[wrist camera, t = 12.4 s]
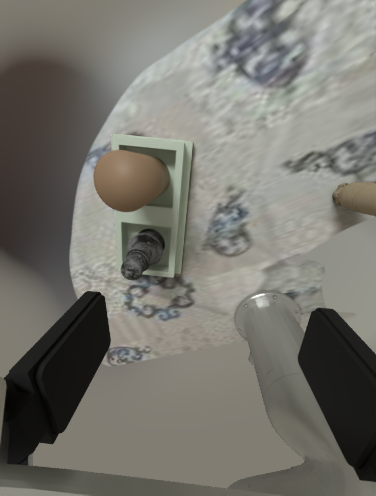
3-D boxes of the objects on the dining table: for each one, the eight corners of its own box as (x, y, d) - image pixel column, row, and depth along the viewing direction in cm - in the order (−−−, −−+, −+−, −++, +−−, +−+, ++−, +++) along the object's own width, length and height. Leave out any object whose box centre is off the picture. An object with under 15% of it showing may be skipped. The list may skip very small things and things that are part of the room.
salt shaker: (147, 263, 37) (123, 304, 26) (127, 238, 36) (92, 270, 24) (173, 248, 36) (160, 284, 25) (153, 220, 34) (129, 246, 23)
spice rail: (181, 271, 38) (171, 318, 26) (119, 264, 39) (81, 307, 27) (193, 142, 30) (186, 125, 18) (114, 134, 30) (56, 113, 18)
